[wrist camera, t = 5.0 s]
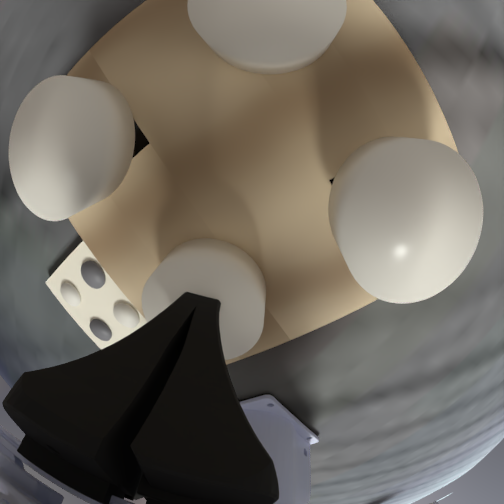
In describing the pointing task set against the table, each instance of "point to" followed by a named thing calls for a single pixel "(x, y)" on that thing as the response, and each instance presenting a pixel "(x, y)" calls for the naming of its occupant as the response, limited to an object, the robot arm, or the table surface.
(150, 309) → the button
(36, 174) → the button
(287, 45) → the button
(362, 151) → the button
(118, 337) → the tile
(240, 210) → the board
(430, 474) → the table surface
